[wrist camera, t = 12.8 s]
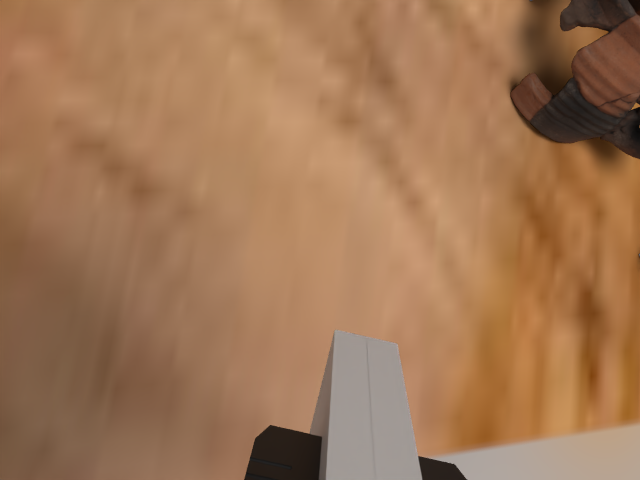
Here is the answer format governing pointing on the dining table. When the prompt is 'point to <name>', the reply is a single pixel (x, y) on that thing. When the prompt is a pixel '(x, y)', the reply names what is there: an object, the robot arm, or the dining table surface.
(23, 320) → the dining table surface
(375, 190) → the dining table surface
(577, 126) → the pottery mug
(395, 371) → the robot arm
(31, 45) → the dining table surface
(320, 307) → the dining table surface
